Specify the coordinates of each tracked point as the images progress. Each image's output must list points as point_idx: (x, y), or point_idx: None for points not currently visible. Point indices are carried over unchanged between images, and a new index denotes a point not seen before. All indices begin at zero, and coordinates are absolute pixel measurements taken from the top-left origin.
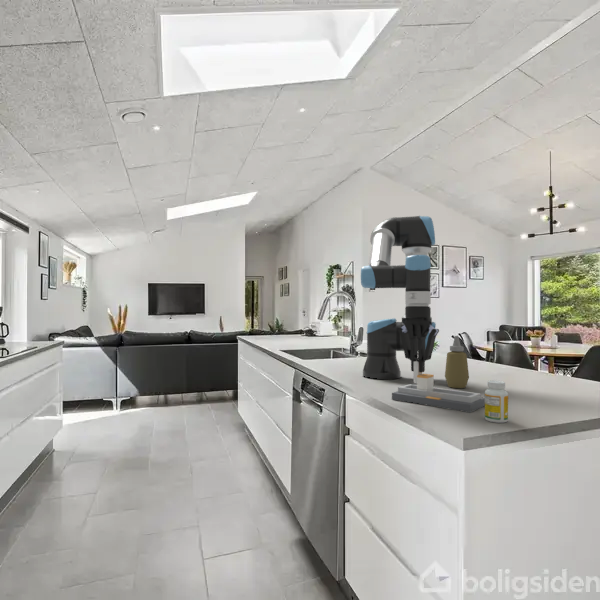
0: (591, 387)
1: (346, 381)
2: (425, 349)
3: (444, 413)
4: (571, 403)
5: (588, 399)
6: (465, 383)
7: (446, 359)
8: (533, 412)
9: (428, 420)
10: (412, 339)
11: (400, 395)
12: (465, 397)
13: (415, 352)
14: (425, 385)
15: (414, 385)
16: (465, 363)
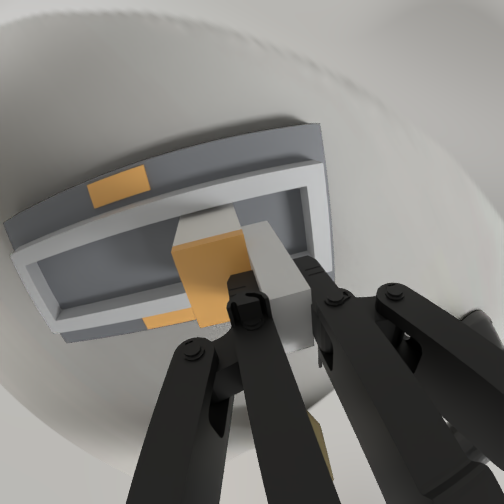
0: None
1: (498, 244)
2: (193, 433)
3: (35, 125)
4: (65, 426)
5: (88, 450)
6: None
7: (329, 463)
8: (4, 336)
9: (25, 29)
10: (439, 476)
11: (273, 129)
12: (21, 249)
13: (342, 374)
14: (184, 227)
15: None
16: None
